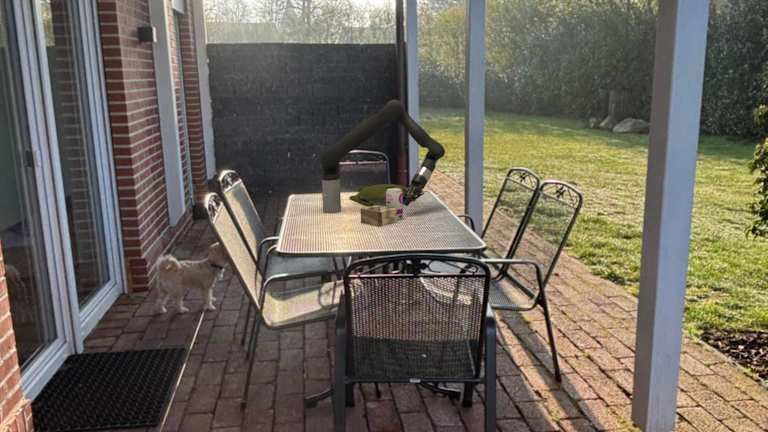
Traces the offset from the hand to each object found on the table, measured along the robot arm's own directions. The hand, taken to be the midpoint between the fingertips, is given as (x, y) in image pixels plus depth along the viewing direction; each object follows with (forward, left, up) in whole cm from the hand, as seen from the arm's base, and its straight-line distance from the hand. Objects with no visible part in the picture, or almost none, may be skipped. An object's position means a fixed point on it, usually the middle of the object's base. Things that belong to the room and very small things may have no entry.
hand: (405, 204), depth 328 cm
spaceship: (+1, +47, -7) cm, 48 cm away
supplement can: (-7, -4, -6) cm, 10 cm away
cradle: (-16, -9, -6) cm, 19 cm away
